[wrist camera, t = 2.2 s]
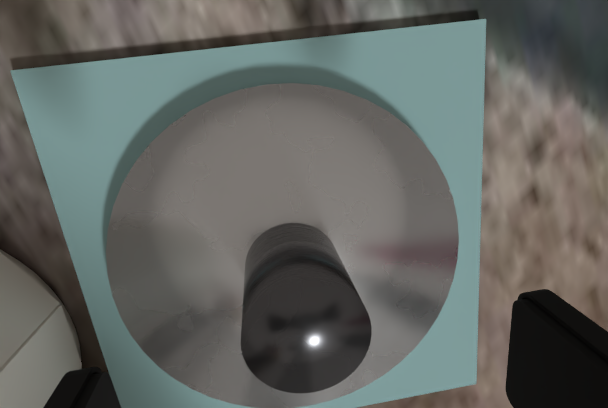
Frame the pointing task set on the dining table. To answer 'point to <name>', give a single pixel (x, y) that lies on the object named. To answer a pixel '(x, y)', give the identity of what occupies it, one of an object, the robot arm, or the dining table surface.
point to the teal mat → (239, 75)
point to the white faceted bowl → (32, 337)
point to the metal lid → (282, 245)
